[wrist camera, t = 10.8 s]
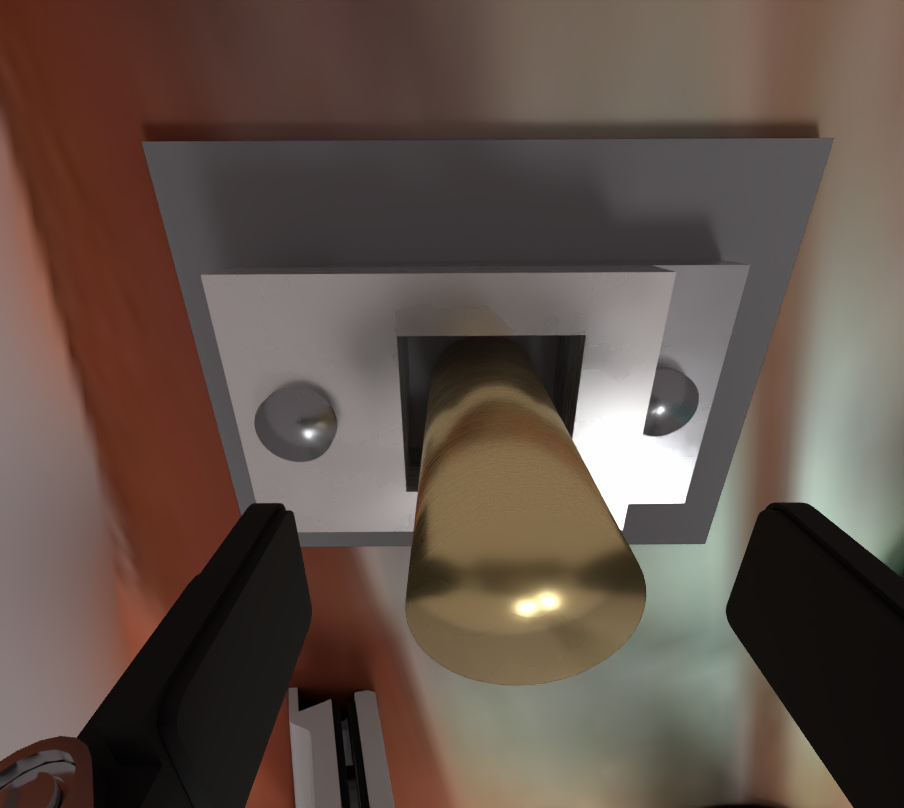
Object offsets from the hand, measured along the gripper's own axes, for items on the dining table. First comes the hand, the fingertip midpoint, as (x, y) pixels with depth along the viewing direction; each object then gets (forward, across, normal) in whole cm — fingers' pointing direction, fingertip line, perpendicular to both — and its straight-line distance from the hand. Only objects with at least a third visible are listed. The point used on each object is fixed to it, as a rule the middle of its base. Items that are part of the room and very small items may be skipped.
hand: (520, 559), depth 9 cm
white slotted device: (+10, +8, +27) cm, 30 cm away
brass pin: (+8, 0, -1) cm, 8 cm away
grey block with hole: (+8, 0, -1) cm, 8 cm away
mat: (+9, 0, -1) cm, 9 cm away
